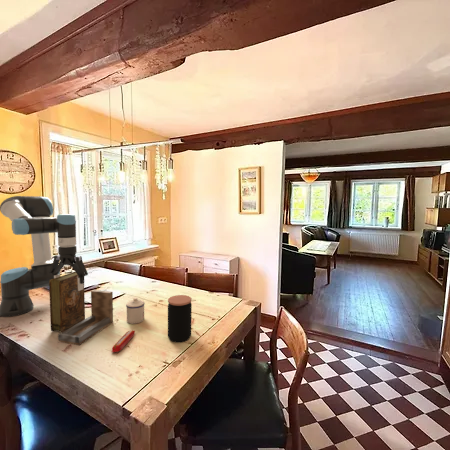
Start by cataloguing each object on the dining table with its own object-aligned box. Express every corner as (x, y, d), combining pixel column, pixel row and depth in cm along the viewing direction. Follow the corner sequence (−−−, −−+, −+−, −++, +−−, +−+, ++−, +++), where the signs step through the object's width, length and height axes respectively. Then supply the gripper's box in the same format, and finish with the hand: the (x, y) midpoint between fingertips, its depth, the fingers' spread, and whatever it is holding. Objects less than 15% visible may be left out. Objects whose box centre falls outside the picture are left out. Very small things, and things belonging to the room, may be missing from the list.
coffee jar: (180, 329, 124) (181, 293, 123) (196, 336, 118) (196, 298, 116) (162, 337, 116) (162, 299, 115) (178, 346, 109) (178, 305, 108)
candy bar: (128, 334, 119) (128, 328, 119) (136, 334, 119) (136, 328, 118) (109, 354, 103) (109, 347, 103) (118, 355, 103) (118, 347, 102)
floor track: (58, 341, 111) (57, 306, 110) (94, 319, 132) (93, 289, 131) (79, 345, 109) (78, 309, 107) (113, 322, 130) (112, 291, 129)
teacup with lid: (147, 320, 132) (147, 299, 131) (129, 325, 126) (129, 303, 125) (138, 313, 141) (138, 292, 140) (122, 317, 136) (121, 296, 135)
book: (77, 317, 135) (76, 271, 133) (86, 318, 134) (85, 271, 132) (50, 332, 119) (48, 280, 117) (60, 333, 118) (59, 281, 116)
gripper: (39, 246, 122) (41, 289, 124) (83, 248, 117) (84, 293, 118) (52, 243, 129) (54, 284, 131) (95, 245, 124) (96, 288, 125)
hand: (68, 288), depth 124 cm, fingers open, 13 cm apart
